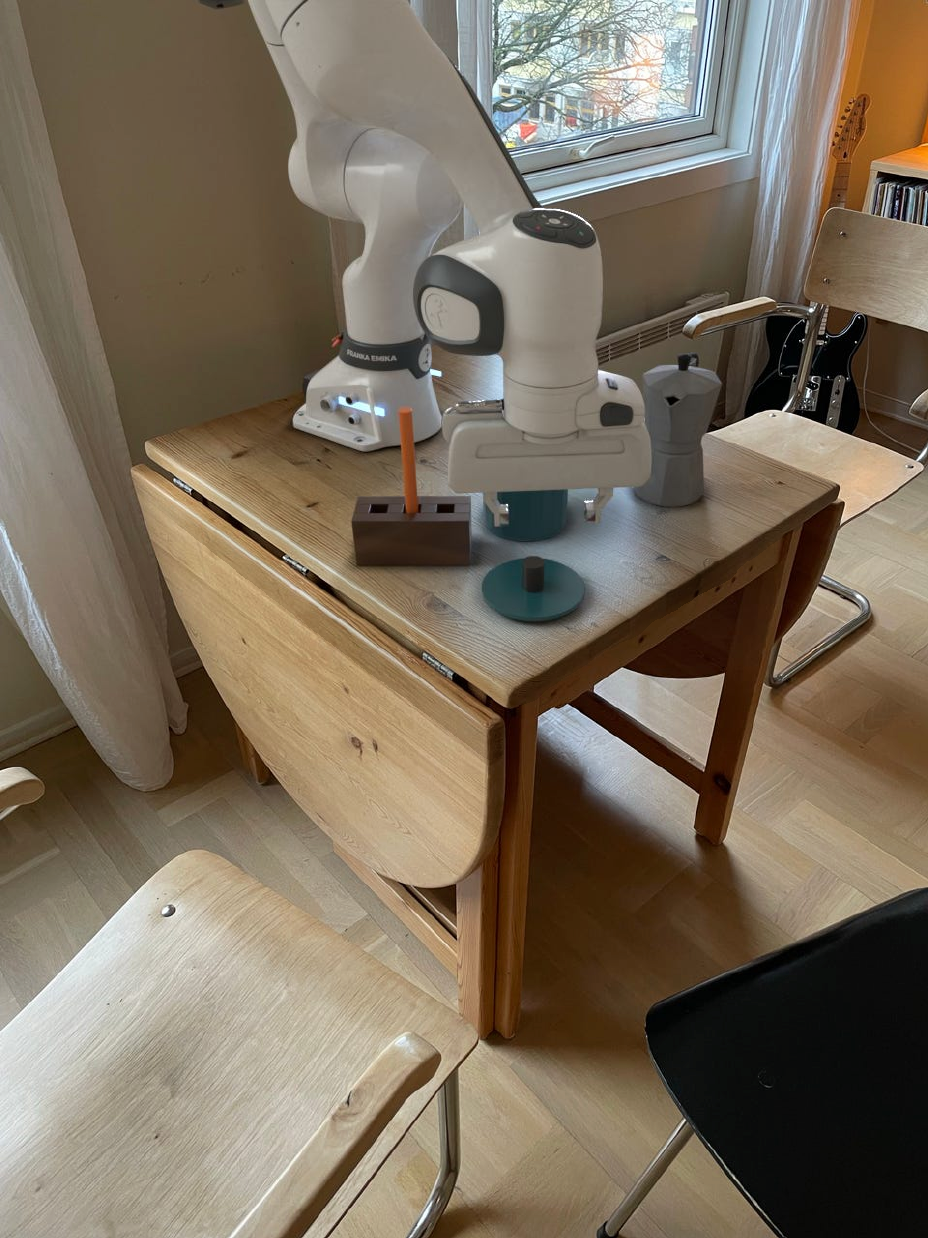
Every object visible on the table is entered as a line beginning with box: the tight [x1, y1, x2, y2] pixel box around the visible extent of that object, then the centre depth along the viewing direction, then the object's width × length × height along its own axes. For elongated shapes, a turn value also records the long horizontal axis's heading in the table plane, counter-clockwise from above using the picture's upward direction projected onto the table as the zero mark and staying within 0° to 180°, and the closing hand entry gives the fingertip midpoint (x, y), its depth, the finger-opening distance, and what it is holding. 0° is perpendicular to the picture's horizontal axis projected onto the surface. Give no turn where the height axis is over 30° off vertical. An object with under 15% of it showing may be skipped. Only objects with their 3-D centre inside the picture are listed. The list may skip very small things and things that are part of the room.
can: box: [482, 489, 569, 542], centre depth 107 cm, size 10×10×11 cm
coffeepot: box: [633, 352, 723, 508], centre depth 110 cm, size 15×9×18 cm, turn 159°
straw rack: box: [351, 495, 473, 567], centre depth 103 cm, size 6×13×6 cm, turn 88°
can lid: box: [481, 555, 586, 622], centre depth 96 cm, size 11×11×4 cm
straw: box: [399, 407, 419, 513], centre depth 99 cm, size 1×1×18 cm
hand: (546, 521), depth 93 cm, fingers open, 8 cm apart
